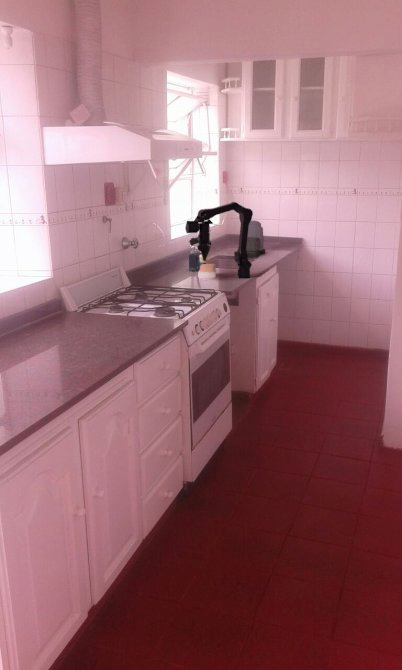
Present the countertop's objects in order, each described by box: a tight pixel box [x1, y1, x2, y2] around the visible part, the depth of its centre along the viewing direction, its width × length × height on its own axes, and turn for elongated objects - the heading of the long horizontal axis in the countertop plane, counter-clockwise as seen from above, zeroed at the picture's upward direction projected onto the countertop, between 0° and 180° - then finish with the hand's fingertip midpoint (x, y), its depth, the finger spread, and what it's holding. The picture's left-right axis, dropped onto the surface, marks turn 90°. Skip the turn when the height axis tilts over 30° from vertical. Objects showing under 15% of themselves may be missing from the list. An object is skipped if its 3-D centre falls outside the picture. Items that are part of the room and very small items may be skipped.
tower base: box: [197, 269, 217, 279], centre depth 363 cm, size 10×10×4 cm
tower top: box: [200, 263, 217, 272], centre depth 363 cm, size 8×8×4 cm
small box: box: [188, 251, 207, 273], centre depth 383 cm, size 11×6×10 cm, turn 143°
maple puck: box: [200, 253, 211, 264], centre depth 346 cm, size 6×6×4 cm
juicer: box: [246, 220, 266, 259], centre depth 438 cm, size 30×16×24 cm, turn 166°
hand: (204, 260), depth 346 cm, fingers closed on maple puck, 6 cm apart
